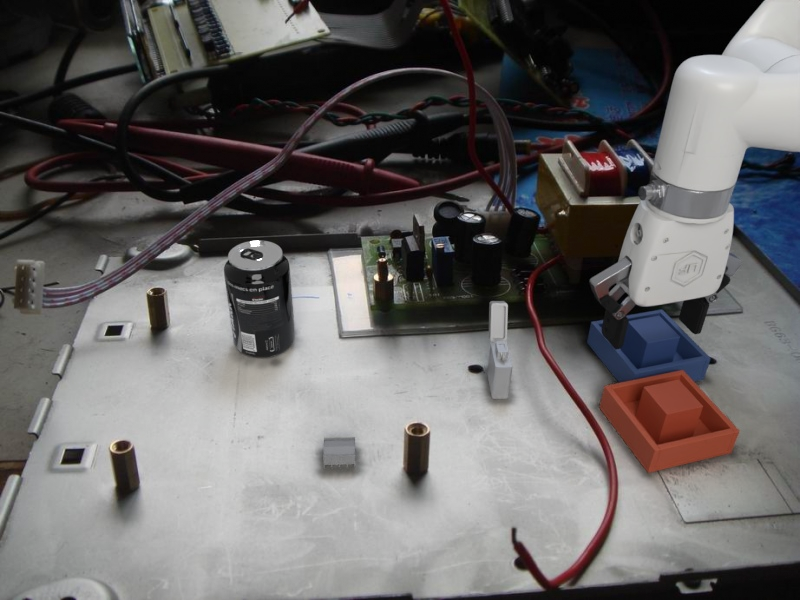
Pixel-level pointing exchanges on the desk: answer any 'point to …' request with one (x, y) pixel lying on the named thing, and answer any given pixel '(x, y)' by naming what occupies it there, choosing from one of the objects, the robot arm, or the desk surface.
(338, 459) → the grey pin connector
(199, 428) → the desk surface
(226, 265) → the beverage can
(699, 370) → the slate bin
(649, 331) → the slate block
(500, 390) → the lighter
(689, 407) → the terracotta block
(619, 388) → the terracotta bin
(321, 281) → the desk surface
